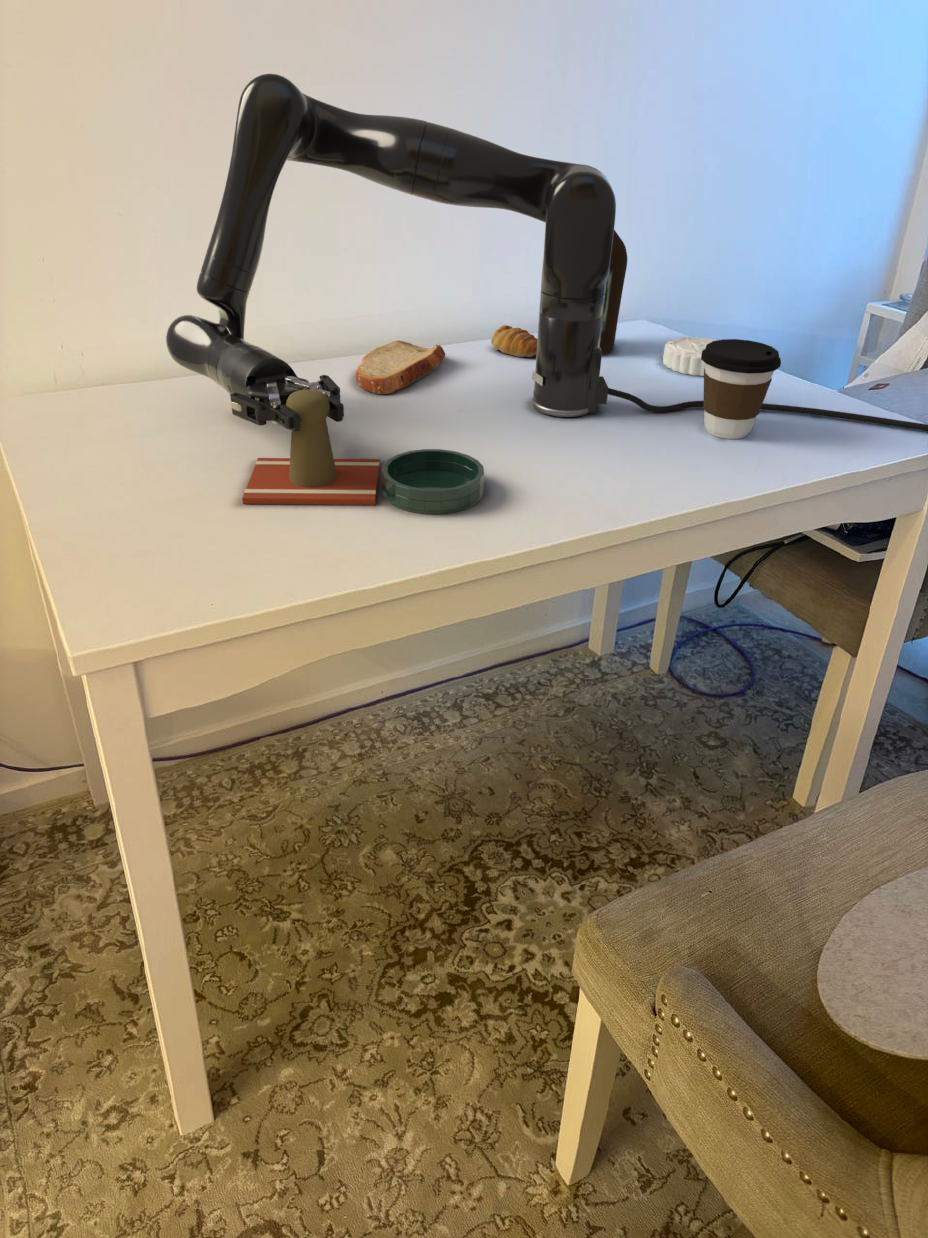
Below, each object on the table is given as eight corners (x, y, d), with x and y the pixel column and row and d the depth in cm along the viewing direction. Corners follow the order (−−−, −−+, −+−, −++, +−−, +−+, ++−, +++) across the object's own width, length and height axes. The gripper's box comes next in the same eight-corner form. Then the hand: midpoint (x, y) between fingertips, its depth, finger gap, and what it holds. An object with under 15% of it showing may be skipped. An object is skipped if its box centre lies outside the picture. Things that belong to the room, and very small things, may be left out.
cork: (290, 467, 117) (283, 383, 111) (338, 466, 118) (333, 383, 112) (287, 487, 112) (279, 401, 106) (336, 487, 113) (331, 401, 107)
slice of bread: (368, 397, 142) (367, 373, 139) (334, 362, 155) (333, 340, 153) (474, 383, 148) (474, 361, 146) (432, 351, 161) (432, 330, 159)
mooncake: (739, 377, 153) (744, 356, 151) (668, 375, 153) (671, 354, 151) (723, 355, 163) (727, 335, 161) (657, 353, 163) (660, 333, 161)
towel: (380, 464, 121) (379, 458, 120) (375, 505, 111) (375, 498, 110) (258, 463, 120) (257, 456, 120) (242, 504, 110) (241, 497, 110)
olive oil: (565, 336, 171) (577, 191, 157) (621, 343, 168) (639, 195, 154) (552, 353, 162) (564, 200, 148) (611, 360, 160) (629, 205, 146)
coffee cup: (770, 425, 136) (788, 344, 129) (757, 451, 127) (776, 366, 121) (697, 412, 139) (711, 333, 133) (680, 436, 131) (694, 353, 124)
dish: (480, 470, 120) (481, 449, 118) (485, 514, 109) (486, 491, 108) (384, 469, 119) (384, 448, 118) (380, 513, 109) (379, 490, 107)
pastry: (550, 354, 162) (552, 332, 160) (525, 362, 158) (526, 340, 156) (512, 342, 167) (513, 320, 165) (486, 349, 163) (487, 328, 161)
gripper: (200, 359, 114) (261, 399, 103) (302, 340, 121) (369, 377, 110) (208, 416, 118) (267, 461, 107) (306, 395, 125) (371, 435, 114)
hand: (318, 418), depth 109 cm, fingers closed on cork, 5 cm apart
